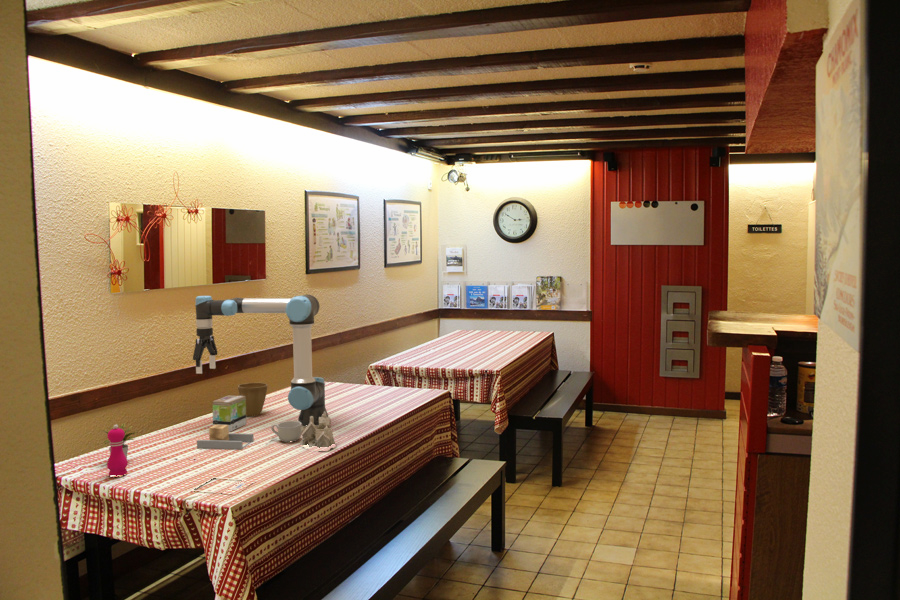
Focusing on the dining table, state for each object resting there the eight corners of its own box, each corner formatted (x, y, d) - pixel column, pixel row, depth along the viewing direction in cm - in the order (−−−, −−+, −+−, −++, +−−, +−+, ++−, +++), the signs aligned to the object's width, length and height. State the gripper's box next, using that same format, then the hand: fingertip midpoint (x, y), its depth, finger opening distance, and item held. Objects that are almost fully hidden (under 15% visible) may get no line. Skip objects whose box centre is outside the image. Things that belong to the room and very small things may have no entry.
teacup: (306, 438, 312) (306, 421, 311) (293, 445, 302) (293, 427, 301) (280, 436, 316) (279, 419, 316) (266, 442, 306) (266, 424, 306)
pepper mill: (112, 472, 266) (109, 422, 264) (131, 472, 266) (128, 421, 265) (104, 478, 259) (101, 427, 257) (123, 478, 259) (121, 426, 258)
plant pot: (250, 419, 347) (249, 389, 346) (233, 415, 356) (232, 385, 355) (274, 414, 359) (273, 384, 358) (256, 410, 368) (255, 381, 367)
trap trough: (253, 443, 304) (253, 433, 304) (241, 452, 291) (240, 441, 291) (211, 442, 307) (211, 432, 306) (197, 450, 294) (196, 440, 293)
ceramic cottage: (303, 441, 307) (303, 409, 305) (339, 442, 307) (339, 410, 305) (294, 453, 292) (293, 420, 290) (332, 455, 291) (332, 421, 289)
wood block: (228, 442, 302) (228, 424, 301) (222, 446, 296) (222, 428, 295) (216, 442, 303) (215, 424, 302) (209, 446, 297) (209, 428, 296)
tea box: (231, 432, 324) (230, 401, 323) (212, 431, 326) (211, 401, 325) (247, 424, 339) (246, 395, 338) (228, 423, 341) (227, 394, 340)
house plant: (110, 470, 269) (108, 429, 268) (90, 464, 276) (88, 425, 275) (143, 460, 281) (141, 421, 280) (123, 455, 288) (122, 417, 287)
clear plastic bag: (235, 493, 240) (190, 490, 244) (235, 496, 240) (190, 493, 244) (256, 479, 254) (213, 476, 258) (256, 482, 254) (213, 479, 258)
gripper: (209, 324, 342) (210, 366, 344) (184, 330, 318) (185, 375, 319) (223, 324, 342) (225, 366, 343) (199, 330, 317) (200, 375, 318)
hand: (206, 370), depth 331 cm, fingers open, 13 cm apart
